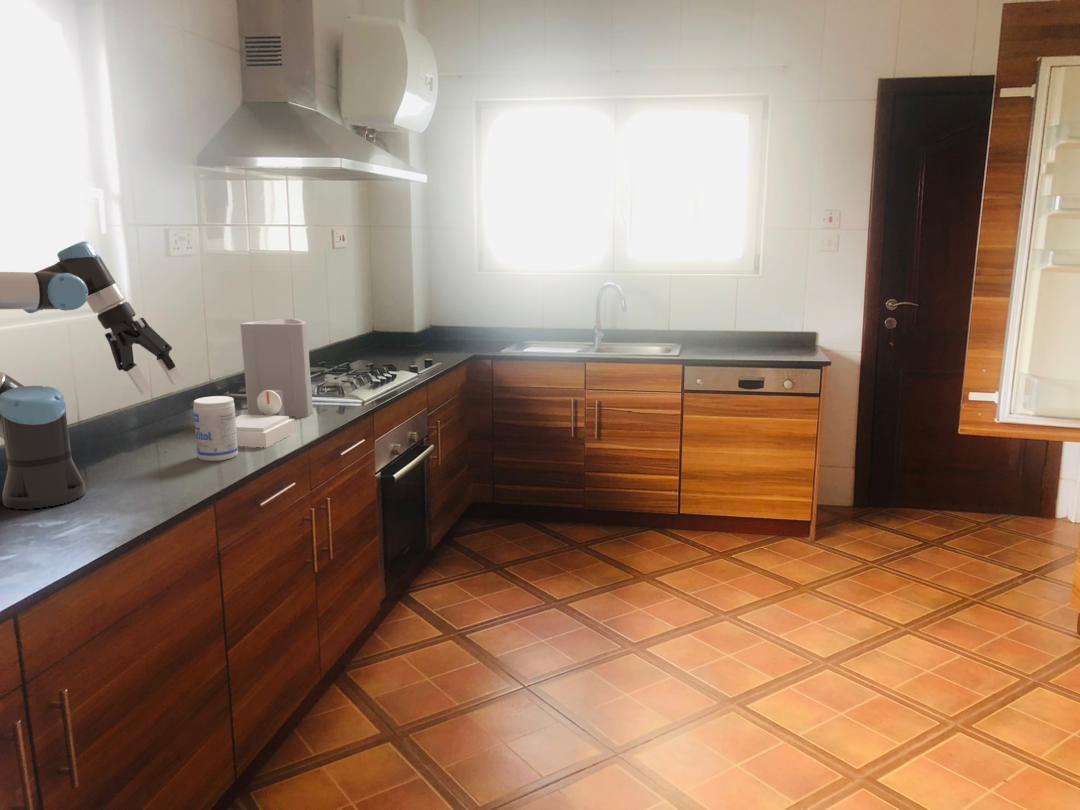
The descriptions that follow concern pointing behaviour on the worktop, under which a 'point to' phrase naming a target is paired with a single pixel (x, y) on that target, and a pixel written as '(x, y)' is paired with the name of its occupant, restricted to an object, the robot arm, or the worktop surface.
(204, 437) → the supplement tub
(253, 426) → the kitchen scale
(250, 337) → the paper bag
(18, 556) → the worktop surface
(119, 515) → the worktop surface
